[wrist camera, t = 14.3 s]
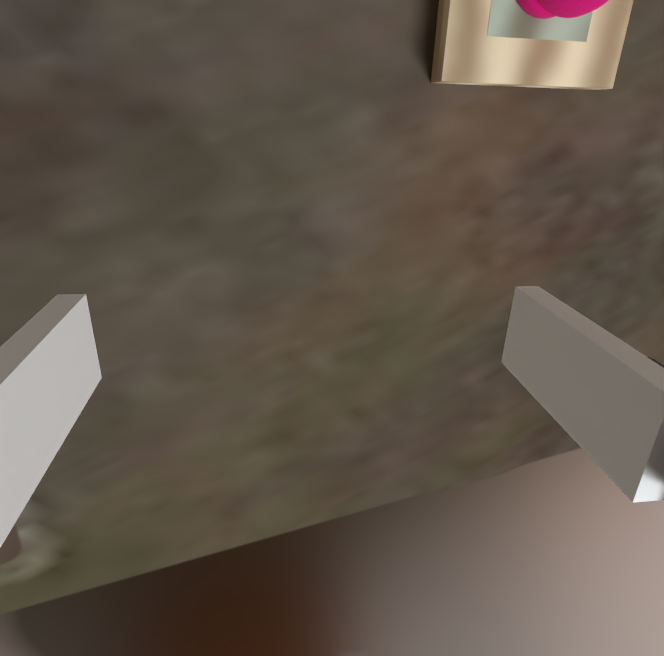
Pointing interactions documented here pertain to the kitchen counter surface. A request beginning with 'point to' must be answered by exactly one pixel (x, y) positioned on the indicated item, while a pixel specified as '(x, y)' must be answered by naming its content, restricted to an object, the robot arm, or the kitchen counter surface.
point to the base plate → (527, 45)
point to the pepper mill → (559, 7)
